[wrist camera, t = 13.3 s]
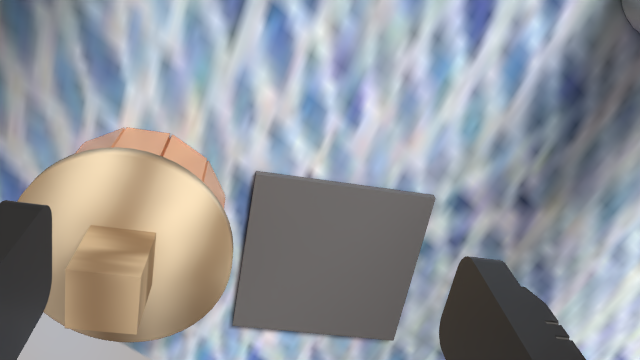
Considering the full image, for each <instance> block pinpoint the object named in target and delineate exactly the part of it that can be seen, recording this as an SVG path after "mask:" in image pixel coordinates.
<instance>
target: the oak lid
mask: <svg viewBox="0 0 640 360" xmlns="http://www.w3.org/2000/svg"><path fill="white" fill-rule="evenodd" d="M17 202H24V203H32V204H41V205H48V206H49V207H50V209H51V212H52V284H51V290H50V295H49V299H48V302H47V305H46V307H45V310H44V313H45V314H47V315H48V316H49V317H51V318H52V319H54V320H55V321H57V322H59V323H60V324H62V325H63V326H65V328H68V329H72V330H74V331H76V332H79V333H81V334H84V335H88V336H90V337H94V338H98V339H102V340H109V341H116V342H142V341H150V340H155V339H160V338H163V337H167V336H170V335H173V334H175V333H178V332H180V331H182V330H184V329H186V328H188V327H190V326H191V325H193V324H195V323H196V322H197V321H199V320H200V319H201V318H203V317H204V316H205V315H206V314H207V313H208V312H209V311H210V310H211V309H212V308H213V307H214V305H215V304H216V303H217V302H218V300H219V299H220V297H221V295H222V294H223V292H224V290H225V288H226V285H227V283H228V280H229V277H230V272H231V268H232V258H233V237H232V231H231V227H230V223H229V220H228V218H227V215H226V213H225V211H224V209H223V207H222V205H221V204H220V202H219V200H218V199H217V197H216V196H215V195H214V194H213V192H212V191H211V190H210V189H209V188H208V187H207V186H206V185H205V184H204V183H203V182H202V181H201V180H200V179H199V178H198V177H197V176H195V175H194V174H193V173H192V172H190V171H189V170H188V169H186V168H184V167H183V166H181V165H179V164H178V163H176V162H174V161H171V160H169V159H167V158H165V157H163V156H160V155H157V154H153V153H150V152H147V151H142V150H137V149H131V148H118V147H114V148H98V149H92V150H86V151H83V152H80V153H76V154H73V155H70V156H68V157H66V158H64V159H62V160H59V161H58V162H56V163H55V164H53V165H51V166H50V167H48V168H47V169H46V170H44V171H43V172H42V173H41V174H40V175H39V176H37V178H36V179H35V180H34V181H33V182H32V183H31V184H30V186H29V187H28V188H27V189H26V190H25V191H24V193H23V194H22V195H21V196H20V198H19V200H18V201H17Z"/></svg>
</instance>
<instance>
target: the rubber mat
mask: <svg viewBox="0 0 640 360" xmlns="http://www.w3.org/2000/svg"><path fill="white" fill-rule="evenodd" d="M434 202H435V197H434V195H430V194H422V193H415V192H408V191H400V190H393V189H386V188H378V187H371V186H363V185H356V184H349V183H341V182H334V181H327V180H319V179H312V178H304V177H297V176H290V175H282V174H275V173H267V172H260V171H256V175H255V181H254V188H253V194H252V201H251V207H250V214H249V220H248V227H247V233H246V240H245V246H244V253H243V259H242V266H241V272H240V279H239V285H238V292H237V298H236V305H235V311H234V318H233V326H243V327H254V328H265V329H275V330H286V331H297V332H307V333H318V334H329V335H339V336H350V337H361V338H371V339H382V340H394V336H395V333H396V330H397V326H398V323H399V320H400V316H401V313H402V309H403V306H404V303H405V299H406V296H407V293H408V289H409V286H410V282H411V279H412V276H413V272H414V269H415V266H416V262H417V259H418V256H419V252H420V249H421V245H422V242H423V239H424V235H425V232H426V229H427V225H428V222H429V218H430V215H431V212H432V208H433V205H434Z"/></svg>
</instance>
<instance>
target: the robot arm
mask: <svg viewBox="0 0 640 360" xmlns="http://www.w3.org/2000/svg"><path fill="white" fill-rule="evenodd" d="M621 2H622V7H623V10H624V13H625V15H626V18H627V19H628V21H629V22H630V24H631V25H632V27H633V28H634V29H636V30H637V31H638V32H639V33H640V0H621ZM51 284H52V212H51V209H50V207H49V206H48V205H41V204H32V203H24V202H16V201H7V200H5V201H2V202H1V203H0V360H17V358H18V356H19V354H20V353H21V351H22V349H23V347H24V345H25V344H26V342H27V340H28V338H29V336H30V335H31V333H32V331H33V329H34V328H35V326H36V324H37V322H38V321H39V319H40V317H41V315H42V313H43V312H44V310H45V307H46V305H47V302H48V299H49V295H50V290H51ZM439 338H440V345H441V349H442V351H443V354H444V356H445V359H446V360H586V359H585V358H584V356H583V355H582V353H581V352H580V351H579V349H578V348H577V347H576V345H575V344H574V342H573V341H572V340H569V335H568V334H567V333H566V331H565V330H564V329H563V327H562V326H561V325H558V320H557V319H556V317H555V316H554V315H553V313H552V312H551V310H550V309H549V308H548V306H547V305H546V304H545V303H544V302H543V301H542V300H540V299H539V298H538V297H537V296H535V295H534V294H533V293H532V292H530V291H529V290H528V289H527V288H525V287H521V286H520V284H519V283H518V281H517V280H516V279H515V277H514V276H513V274H512V273H511V271H510V270H509V268H508V267H507V266H506V264H505V263H504V262H503V261H500V260H493V259H485V258H476V257H468V256H467V257H464V258H463V259H462V260H461V262H460V263H459V266H458V268H457V271H456V274H455V277H454V280H453V283H452V286H451V289H450V292H449V295H448V299H447V302H446V305H445V308H444V311H443V314H442V317H441V321H440V328H439Z"/></svg>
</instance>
